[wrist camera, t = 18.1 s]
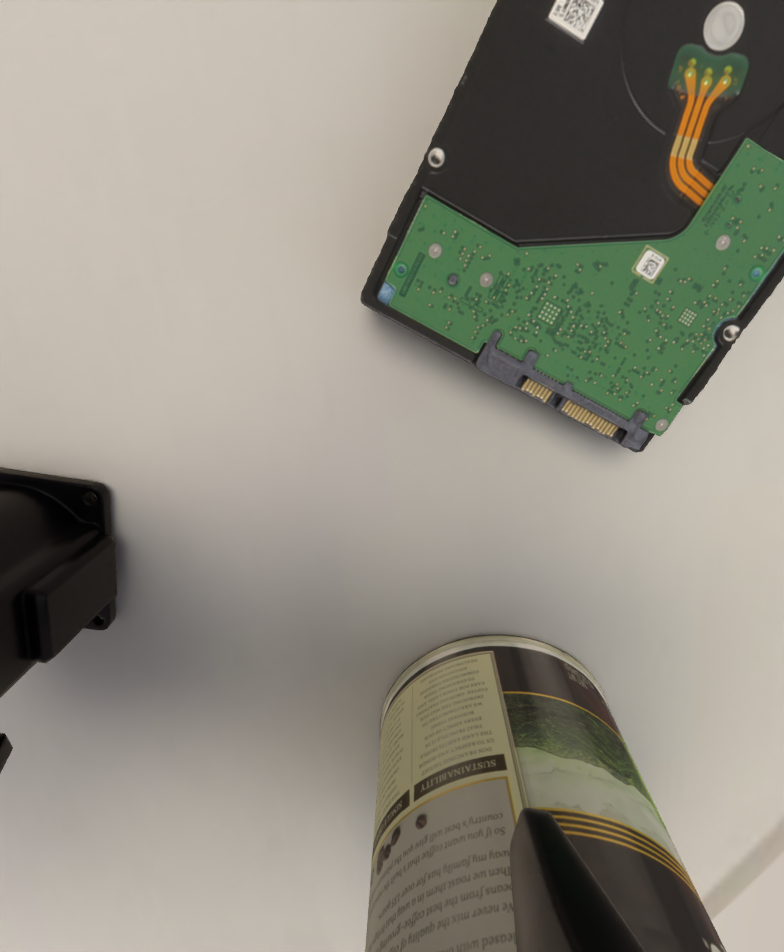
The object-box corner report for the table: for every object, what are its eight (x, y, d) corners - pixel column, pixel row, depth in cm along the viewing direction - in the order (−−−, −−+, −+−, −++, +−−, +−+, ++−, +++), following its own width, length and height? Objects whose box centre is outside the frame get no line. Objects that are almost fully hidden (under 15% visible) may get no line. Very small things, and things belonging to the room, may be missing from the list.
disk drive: (622, -267, 12) (361, 306, 17) (680, -425, 10) (352, 306, 14) (946, -33, 13) (622, 442, 18) (1078, -117, 11) (659, 467, 15)
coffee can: (614, 624, 21) (987, 1222, 7) (603, 805, 24) (844, 1439, 11) (365, 638, 21) (287, 1208, 8) (389, 813, 25) (363, 1417, 11)
